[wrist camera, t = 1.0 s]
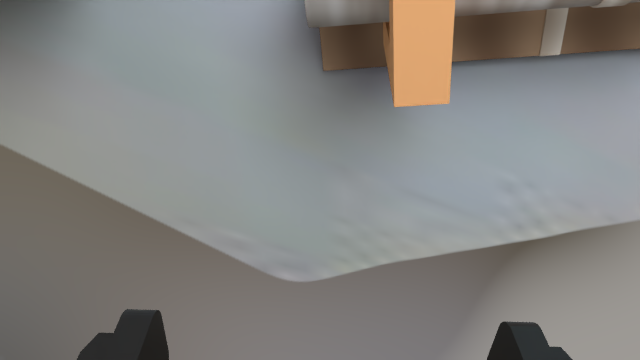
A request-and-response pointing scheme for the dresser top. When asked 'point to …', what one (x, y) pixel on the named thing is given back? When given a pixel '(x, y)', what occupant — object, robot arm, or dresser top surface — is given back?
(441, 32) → the collar
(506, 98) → the dresser top surface
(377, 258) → the dresser top surface
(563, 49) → the pipe stand
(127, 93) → the dresser top surface
